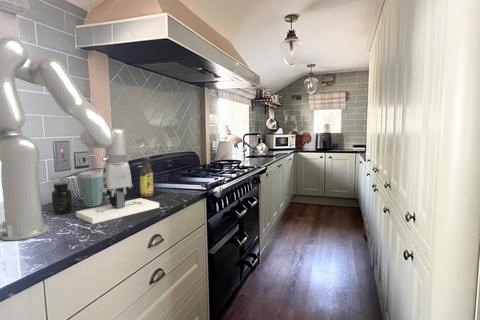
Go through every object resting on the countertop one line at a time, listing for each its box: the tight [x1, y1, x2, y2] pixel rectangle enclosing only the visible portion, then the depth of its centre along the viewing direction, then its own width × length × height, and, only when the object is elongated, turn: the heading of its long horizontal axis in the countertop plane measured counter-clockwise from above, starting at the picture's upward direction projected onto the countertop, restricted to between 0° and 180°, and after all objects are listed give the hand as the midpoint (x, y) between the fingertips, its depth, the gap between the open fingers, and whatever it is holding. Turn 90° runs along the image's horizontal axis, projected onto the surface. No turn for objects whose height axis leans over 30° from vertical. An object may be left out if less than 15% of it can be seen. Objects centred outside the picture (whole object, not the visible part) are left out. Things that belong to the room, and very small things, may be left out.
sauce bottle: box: [139, 156, 154, 198], centre depth 145 cm, size 6×6×20 cm
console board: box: [75, 197, 160, 225], centre depth 118 cm, size 28×14×2 cm, turn 141°
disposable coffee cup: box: [77, 169, 103, 208], centre depth 128 cm, size 11×11×15 cm
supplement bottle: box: [51, 181, 74, 216], centre depth 117 cm, size 7×7×12 cm
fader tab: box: [112, 190, 125, 208], centre depth 117 cm, size 3×5×6 cm, turn 51°
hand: (117, 204), depth 117 cm, fingers closed on fader tab, 3 cm apart
